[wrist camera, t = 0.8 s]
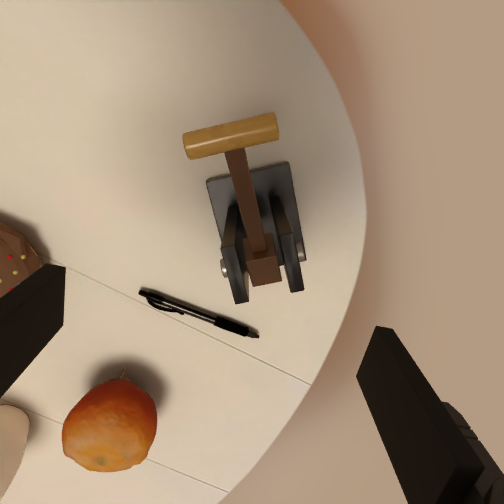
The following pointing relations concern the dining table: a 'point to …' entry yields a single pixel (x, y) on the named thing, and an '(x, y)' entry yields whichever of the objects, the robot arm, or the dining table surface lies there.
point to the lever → (243, 184)
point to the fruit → (110, 427)
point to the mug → (11, 443)
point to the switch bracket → (273, 221)
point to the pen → (196, 313)
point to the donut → (15, 259)
